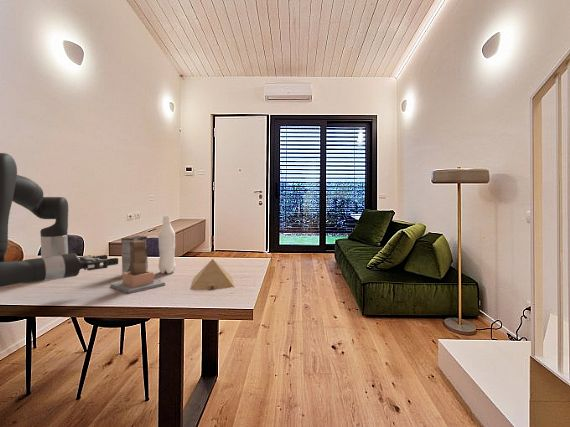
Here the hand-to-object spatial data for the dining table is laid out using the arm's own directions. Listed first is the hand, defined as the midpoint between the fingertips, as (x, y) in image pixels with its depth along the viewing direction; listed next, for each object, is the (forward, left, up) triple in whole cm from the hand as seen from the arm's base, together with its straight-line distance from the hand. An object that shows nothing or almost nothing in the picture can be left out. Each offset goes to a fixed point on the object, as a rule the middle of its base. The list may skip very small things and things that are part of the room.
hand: (112, 259), depth 116 cm
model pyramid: (+18, +30, -12) cm, 37 cm away
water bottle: (-11, +28, -12) cm, 33 cm away
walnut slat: (0, +9, -10) cm, 14 cm away
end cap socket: (0, +9, -11) cm, 15 cm away
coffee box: (-20, +18, -12) cm, 30 cm away
